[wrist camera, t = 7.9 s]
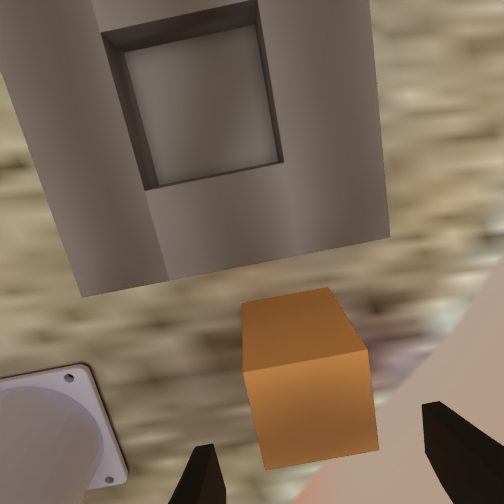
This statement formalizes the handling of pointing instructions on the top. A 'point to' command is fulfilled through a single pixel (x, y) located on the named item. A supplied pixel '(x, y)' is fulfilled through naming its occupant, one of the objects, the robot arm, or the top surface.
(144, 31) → the pocket holder
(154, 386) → the top surface
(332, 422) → the orange block
